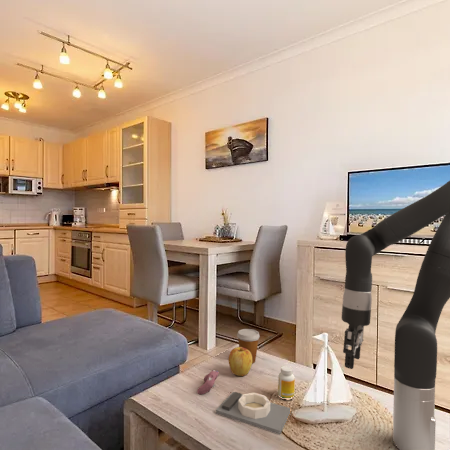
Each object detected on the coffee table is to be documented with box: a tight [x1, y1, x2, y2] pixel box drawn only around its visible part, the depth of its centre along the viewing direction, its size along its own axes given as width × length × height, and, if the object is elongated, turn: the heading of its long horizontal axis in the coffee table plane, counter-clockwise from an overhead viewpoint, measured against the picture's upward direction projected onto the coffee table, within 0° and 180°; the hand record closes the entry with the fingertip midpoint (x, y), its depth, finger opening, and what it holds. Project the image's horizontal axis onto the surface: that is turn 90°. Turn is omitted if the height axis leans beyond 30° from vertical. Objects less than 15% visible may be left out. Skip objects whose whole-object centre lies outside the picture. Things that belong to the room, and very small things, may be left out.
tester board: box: [215, 391, 291, 435], centre depth 97 cm, size 20×12×4 cm, turn 63°
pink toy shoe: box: [196, 369, 220, 395], centre depth 111 cm, size 10×5×7 cm, turn 169°
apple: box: [227, 346, 253, 377], centre depth 122 cm, size 9×9×10 cm
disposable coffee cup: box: [236, 328, 261, 365], centre depth 134 cm, size 10×10×12 cm
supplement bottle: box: [277, 365, 296, 398], centre depth 107 cm, size 5×5×10 cm
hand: (352, 362), depth 90 cm, fingers open, 8 cm apart
